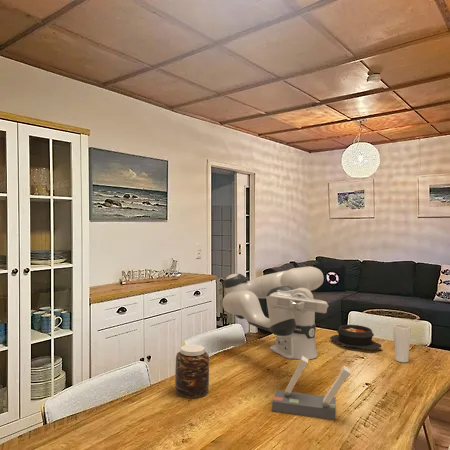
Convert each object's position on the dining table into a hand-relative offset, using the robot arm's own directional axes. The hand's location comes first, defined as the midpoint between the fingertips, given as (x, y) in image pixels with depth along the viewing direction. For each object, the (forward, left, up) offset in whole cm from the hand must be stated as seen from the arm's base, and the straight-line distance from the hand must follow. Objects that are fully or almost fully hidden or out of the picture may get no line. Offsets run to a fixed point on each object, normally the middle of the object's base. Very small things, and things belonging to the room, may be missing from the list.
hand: (295, 305), depth 134 cm
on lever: (+14, -1, -27) cm, 30 cm away
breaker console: (+7, -3, -31) cm, 32 cm away
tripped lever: (+2, -5, -27) cm, 27 cm away
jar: (-24, -25, -31) cm, 47 cm away
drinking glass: (0, +66, -31) cm, 73 cm away
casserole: (-25, +68, -31) cm, 79 cm away
